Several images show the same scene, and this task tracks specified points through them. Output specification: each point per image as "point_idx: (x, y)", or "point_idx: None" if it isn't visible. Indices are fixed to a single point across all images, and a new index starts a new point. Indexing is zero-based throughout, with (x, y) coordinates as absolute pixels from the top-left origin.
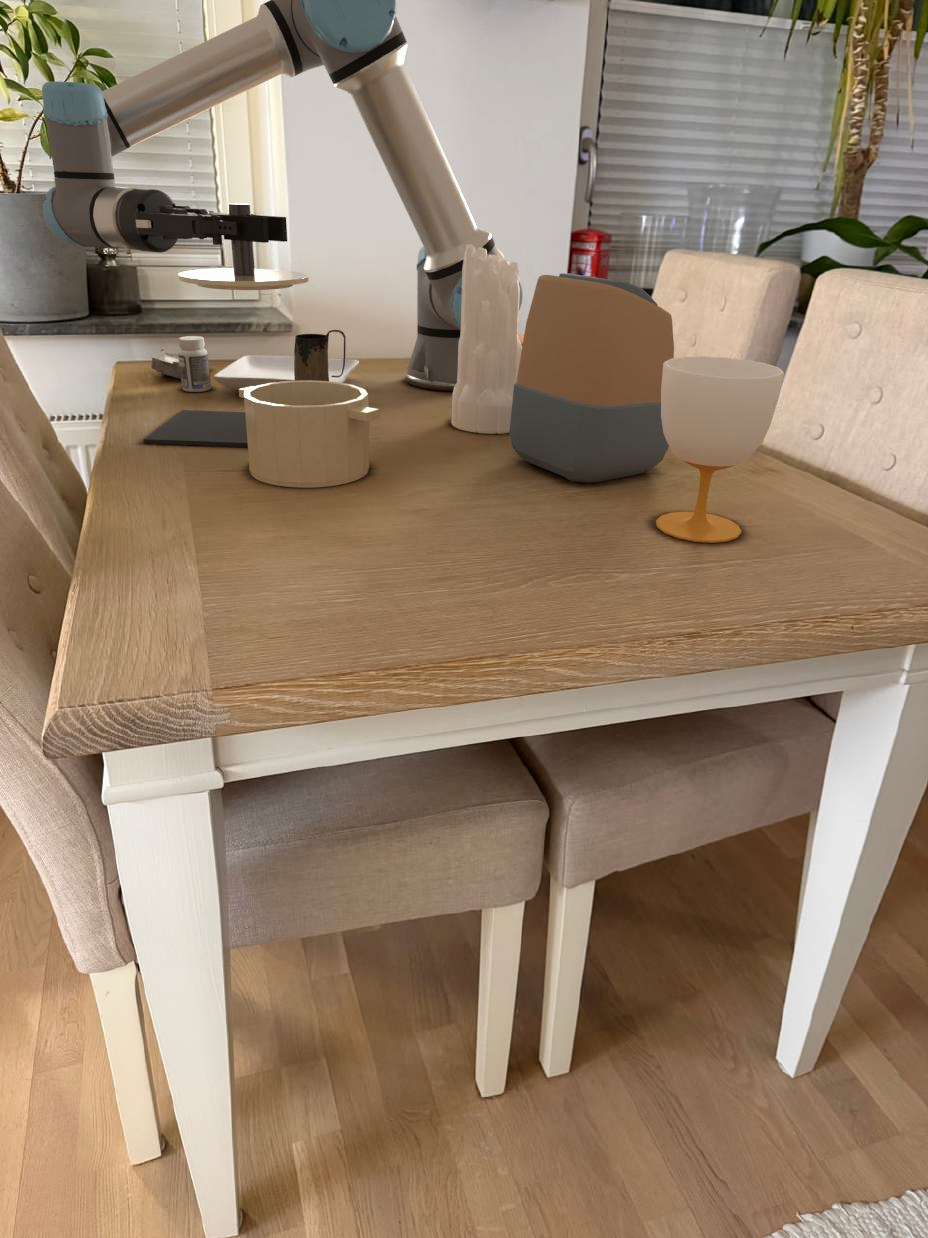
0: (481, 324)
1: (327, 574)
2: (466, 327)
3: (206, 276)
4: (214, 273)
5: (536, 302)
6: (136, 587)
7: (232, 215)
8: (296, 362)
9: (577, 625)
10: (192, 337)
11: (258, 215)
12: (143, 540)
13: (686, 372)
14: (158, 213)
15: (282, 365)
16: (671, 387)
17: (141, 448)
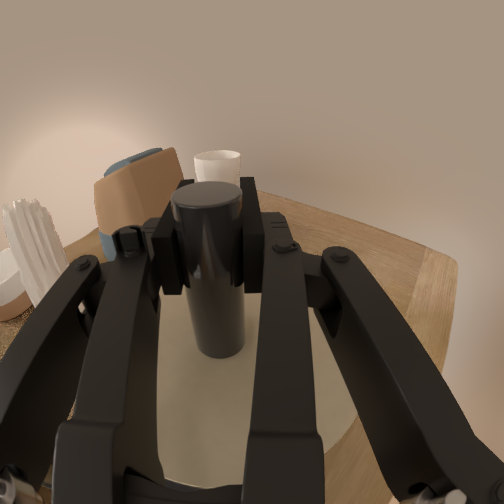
0: (61, 251)
1: (369, 264)
2: (51, 267)
3: (322, 352)
4: None
5: (141, 180)
6: (436, 294)
7: (252, 217)
8: (51, 475)
9: (325, 216)
10: None
11: (170, 210)
12: (426, 330)
13: (238, 156)
14: (440, 442)
15: None
16: (235, 164)
17: None
